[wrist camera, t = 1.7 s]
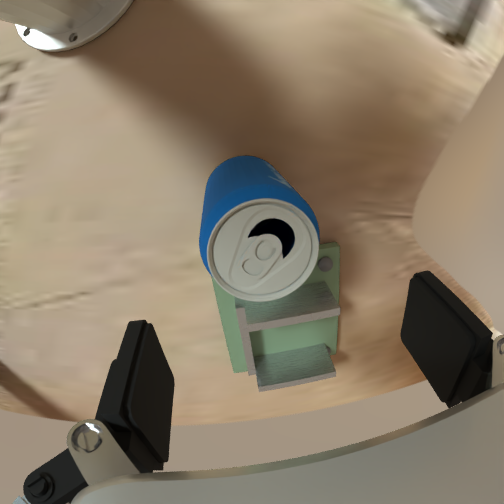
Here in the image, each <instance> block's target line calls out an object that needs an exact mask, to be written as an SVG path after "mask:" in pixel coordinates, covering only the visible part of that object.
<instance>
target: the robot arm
mask: <svg viewBox="0 0 504 504" xmlns="http://www.w3.org/2000/svg"><path fill="white" fill-rule="evenodd" d="M132 2H133V0H0V20H2V21H6V22H10V23H13V24H15V25H16V28H17V31H18V34H19V35H20V37H21V38H22V40H23V41H24V42H25V43H26V44H28V45H29V46H30V47H33V48H35V49H38V50H42V51H46V52H60V51H66V50H70V49H73V48H76V47H79V46H82V45H84V44H86V43H88V42H90V41H92V40H93V39H95V38H96V37H98V36H99V35H101V34H102V33H104V32H105V31H106V30H108V29H109V28H110V27H111V26H112V25H113V24H114V23H116V22H117V21H118V19H119V18H120V17H121V16H122V15H123V14H124V13H125V12H126V11H127V9H128V8H129V6H130V5H131V3H132ZM76 37H78V38H77V39H76ZM75 39H76V41H75ZM492 334H493V333H492V332H491V331H490V330H489V329H488V328H487V327H486V326H485V325H484V323H483V322H482V321H481V320H480V319H479V318H478V317H477V316H476V315H475V314H474V313H473V312H472V311H471V310H470V309H469V308H468V307H467V306H466V305H465V304H464V303H463V302H462V301H461V300H460V299H459V298H458V297H457V296H456V295H455V294H454V293H453V292H452V291H451V290H450V289H448V288H447V287H446V286H445V285H444V284H443V283H442V282H441V281H440V280H439V279H438V278H437V277H436V276H435V275H434V274H432V273H431V272H430V271H423V272H419V273H416V274H414V276H413V278H411V280H410V284H409V290H408V296H407V302H406V308H405V313H404V319H403V324H402V329H401V340H402V342H403V344H404V345H405V347H406V348H407V350H408V351H409V352H410V354H411V355H412V357H413V358H414V360H415V361H416V363H417V364H418V366H419V368H420V369H421V371H422V372H423V374H424V375H425V377H426V378H427V380H428V381H429V383H430V384H431V386H432V388H433V389H434V391H435V392H436V394H437V396H438V397H439V399H440V400H441V401H442V402H445V403H446V405H447V406H448V408H449V409H447V410H445V411H443V412H441V413H438V414H436V415H434V416H431V417H429V418H427V419H424V420H422V421H419V422H417V423H414V424H412V425H409V426H406V427H404V428H401V429H398V430H395V431H392V432H390V433H387V434H384V435H381V436H378V437H375V438H372V439H369V440H365V441H362V442H359V443H356V444H352V445H348V446H345V447H341V448H337V449H334V450H329V451H325V452H321V453H317V454H313V455H308V456H303V457H298V458H293V459H288V460H283V461H277V462H271V463H264V464H258V465H250V466H242V467H233V468H222V469H211V470H198V471H179V472H158V473H153V470H163V464H164V462H167V461H168V457H169V443H170V429H171V417H172V406H173V395H174V377H173V374H172V372H171V369H170V367H169V365H168V362H167V360H166V357H165V355H164V353H163V350H162V348H161V345H160V343H159V340H158V337H157V335H156V332H155V330H154V327H153V325H152V324H151V323H147V321H146V320H138V321H130V322H129V323H128V326H127V329H126V332H125V335H124V338H123V341H122V344H121V347H120V350H119V353H118V356H117V359H115V360H113V361H112V364H111V366H110V369H109V372H108V376H107V379H106V382H105V385H104V389H103V392H102V396H101V399H100V403H99V406H98V410H97V413H96V417H95V419H87V420H83V421H80V422H78V423H77V424H76V425H75V426H73V427H72V429H71V430H70V432H69V433H68V436H67V446H68V448H67V449H66V450H65V451H63V452H62V453H60V454H59V455H57V456H56V457H54V458H53V459H51V460H50V461H48V462H47V463H45V464H44V465H42V466H41V467H39V468H38V469H36V470H35V471H33V472H32V473H31V474H30V475H28V477H27V478H26V480H25V482H24V486H23V488H24V489H23V490H24V496H23V497H20V496H18V498H16V500H15V501H14V502H13V503H12V504H504V335H500V336H498V337H496V338H495V340H494V341H493V340H492V339H491V337H492ZM460 402H462V403H460ZM459 403H460V404H459ZM457 404H458V405H457ZM455 405H456V406H455ZM453 406H454V407H453ZM451 407H452V408H451Z"/></svg>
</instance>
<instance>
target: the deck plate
mask: <svg viewBox="0 0 504 504" xmlns="http://www.w3.org/2000/svg"><path fill="white" fill-rule="evenodd" d="M339 273H340V246H339V245H338V244H337V242H332V243H326V244H320V245H319V253H318V258H317V262H316V265H315V267H314V269H313V271H312V273H311V274H310V276H309V277H308V279H307V280H306V281H305V282H304V283H303V284H302V285H305V284H310V283H316V282H321V281H325V282H326V283H327V285H328V287H329V289H330V290H331V292H332V294H333V296H334V297H335V299H336V301H337V303H338V304H339ZM211 277H212V276H211ZM212 281H213V286H214V290H215V295H216V299H217V304H218V308H219V313H220V317H221V321H222V326H223V330H224V334H225V338H226V342H227V347H228V351H229V355H230V359H231V363H232V367H233V371H234V373H238V372H245V371H248V369H247V364H246V359H245V354H244V349H243V344H242V339H241V334H240V329H239V324H238V319H237V314H236V308H235V299H234V296H233V295H231V294H229V293H228V292H226V291H225V290H224V289H223V288H222V287H221V286H220V285H219V284H218V283H217V282H216V281H215V279H214V278H213V277H212ZM337 329H338V316H333V317H328V318H323V319H318V320H313V321H308V322H303V323H298V324H293V325H287V326H282V327H276V328H270V329H264V330H258V331H252V332H249V335H250V340H251V346H252V352H253V357H254V356H260V355H266V354H271V353H277V352H283V351H288V350H293V349H298V348H303V347H308V346H313V345H318V344H323V343H324V344H325V346H326V348H327V351H328V353H329V356H330V355H334V354H336V346H337Z"/></svg>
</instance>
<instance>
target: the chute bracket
mask: <svg viewBox="0 0 504 504" xmlns="http://www.w3.org/2000/svg"><path fill="white" fill-rule="evenodd" d="M234 299H235V308H236V314H237V319H238V324H239V329H240V334H241V339H242V344H243V349H244V354H245V359H246V364H247V369H248V374H249V375H255V374H256V376H257V382H258V388H259V392H261V391H267V390H273V389H279V388H284V387H290V386H295V385H300V384H305V383H309V382H314V381H318V380H323V379H327V378H331V377H336V370H335V367H334V365H333V363H332V360H331V358H330V356H329V353H328V351H327V348H326V346H325V344H324V343H323V344H318V345H313V346H308V347H303V348H298V349H293V350H288V351H283V352H277V353H271V354H266V355H260V356H254V357H253V352H252V346H251V340H250V335H249V332H252V331H258V330H264V329H270V328H276V327H282V326H287V325H293V324H298V323H303V322H308V321H313V320H318V319H323V318H328V317H333V316H338V315H340V306H339V304H338V303H337V301H336V299H335V297H334V296H333V294H332V292H331V290H330V289H329V287H328V285H327V283H326V282H325V281H321V282H316V283H310V284H305V285H301V286H300V287H299V288H298V289H296V290H295V291H293V292H292V293H290V294H288V295H286V296H284V297H281V298H279V299H275V300H271V301H264V302H254V301H247V300H243V299H240V298H237V297H235V296H234Z"/></svg>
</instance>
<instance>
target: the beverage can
mask: <svg viewBox="0 0 504 504" xmlns="http://www.w3.org/2000/svg"><path fill="white" fill-rule="evenodd" d="M319 240H320V235H319V227H318V222H317V219H316V217H315V215H314V213H313V211H312V209H311V208H310V206H309V205H308V204H307V203H306V201H305V200H304V199H303V198H302V197H301V196H300V195H299V194H298V193H297V192H296V191H295V190H294V188H293V187H292V186H291V185H290V184H289V183H288V182H287V181H286V180H285V179H284V178H283V177H282V176H281V175H280V174H279V173H278V171H277V170H276V169H275V168H274V167H273V166H272V165H270V164H269V163H268V162H266V161H265V160H263V159H260V158H257V157H254V156H237V157H233V158H231V159H228V160H226V161H224V162H223V163H221V164H220V165H219V166H218V167H217V168H216V169H215V170H214V171H213V172H212V174H211V176H210V177H209V179H208V182H207V185H206V190H205V197H204V205H203V213H202V221H201V229H200V238H199V247H200V253H201V257H202V260H203V263H204V265H205V267H206V269H207V270H208V272H209V273H210V274H211V276H212V277H213V278H214V279H215V281H216V282H217V283H218V284H219V285H220V286H221V287H222V288H223V289H224V290H225V291H226V292H228V293H229V294H231V295H233V296H235V297H237V298H240V299H243V300H247V301H254V302H264V301H271V300H275V299H279V298H281V297H284V296H286V295H288V294H290V293H292V292H293V291H295V290H296V289H298V288H299V287H300V286H301V285H302V284H303V283H304V282H305V281H306V280H307V279H308V277H309V276H310V274H311V273H312V271H313V269H314V267H315V265H316V262H317V258H318V253H319Z"/></svg>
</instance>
